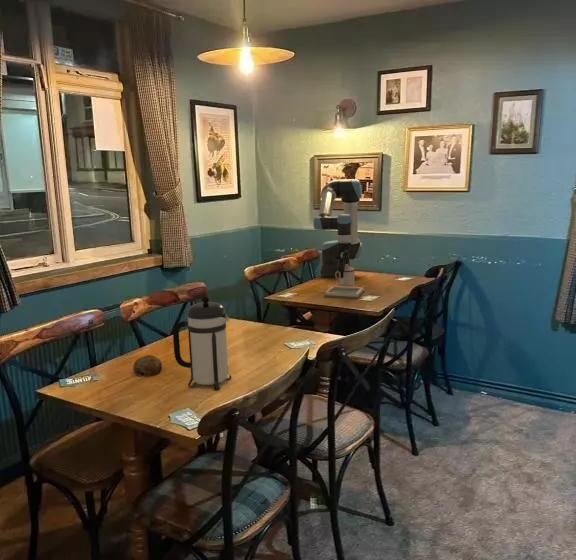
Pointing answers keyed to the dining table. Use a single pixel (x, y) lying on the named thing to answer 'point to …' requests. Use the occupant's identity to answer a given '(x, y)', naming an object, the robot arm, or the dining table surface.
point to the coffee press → (205, 343)
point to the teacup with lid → (347, 276)
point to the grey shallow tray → (344, 292)
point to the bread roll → (147, 366)
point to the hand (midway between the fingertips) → (344, 281)
